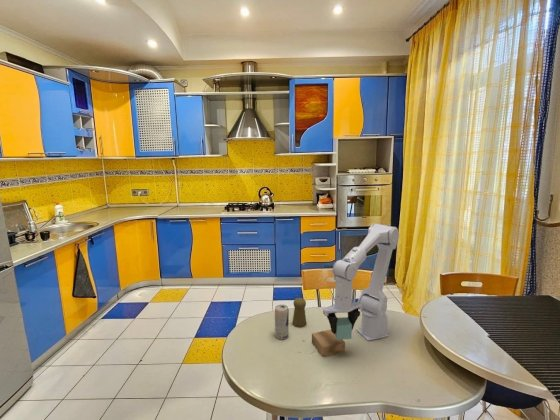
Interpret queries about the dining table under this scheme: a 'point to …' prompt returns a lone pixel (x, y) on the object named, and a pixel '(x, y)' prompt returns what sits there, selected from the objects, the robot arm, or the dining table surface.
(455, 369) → the dining table surface
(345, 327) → the teal cube
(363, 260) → the robot arm
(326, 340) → the walnut block
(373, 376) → the dining table surface
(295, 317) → the cork
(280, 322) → the energy drink
